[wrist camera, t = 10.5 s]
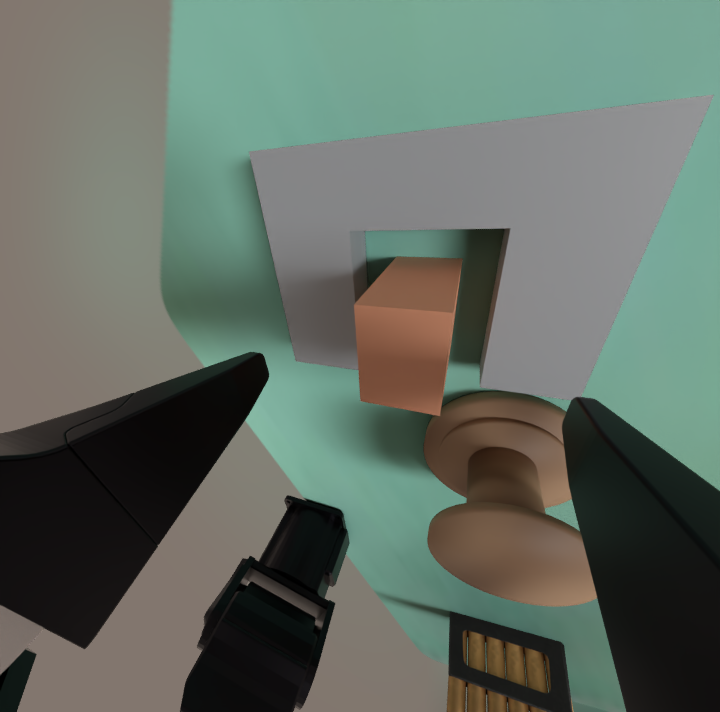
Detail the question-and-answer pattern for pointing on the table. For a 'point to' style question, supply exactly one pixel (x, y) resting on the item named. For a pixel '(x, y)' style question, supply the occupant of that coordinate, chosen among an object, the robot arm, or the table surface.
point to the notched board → (483, 227)
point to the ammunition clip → (543, 706)
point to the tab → (407, 333)
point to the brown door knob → (506, 499)
